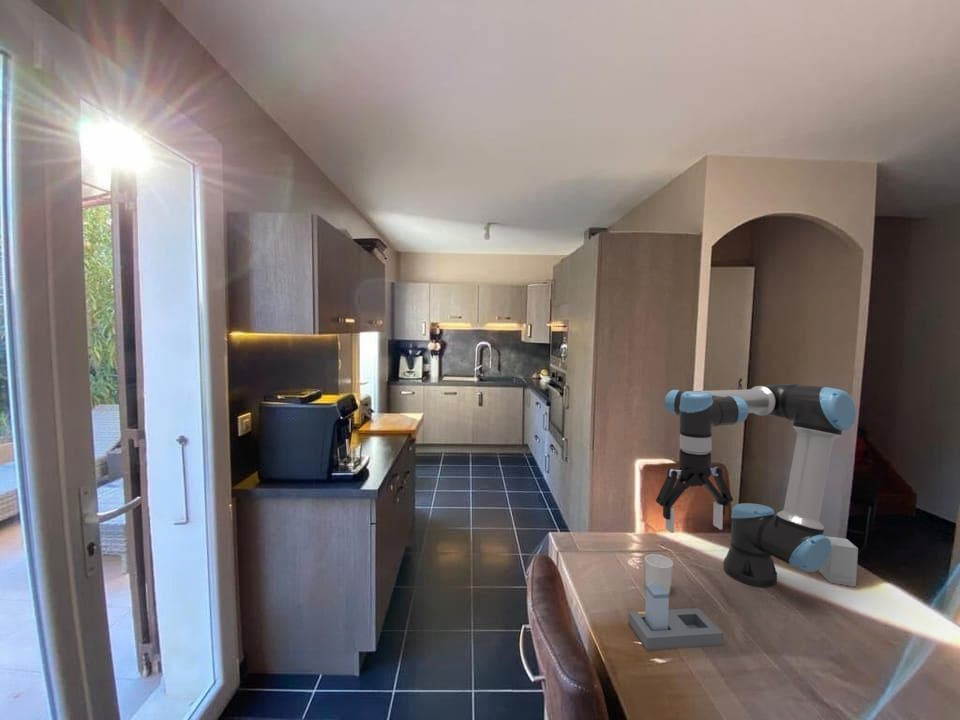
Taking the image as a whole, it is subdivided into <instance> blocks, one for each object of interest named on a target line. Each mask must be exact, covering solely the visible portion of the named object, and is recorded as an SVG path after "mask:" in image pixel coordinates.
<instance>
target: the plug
mask: <svg viewBox="0 0 960 720" xmlns="http://www.w3.org/2000/svg"><path fill="white" fill-rule="evenodd" d="M669 601H670V593H668V592H667V591H666V590H665V589H664V588H663V587H662V586H661V585H649V586H646V585H645V610H644V611H645V623H646V624H647V626H648V627H649V628H650V630H651V631H661V630H668V610H670V609H669V607H670V605H669V604H670V603H669Z"/></svg>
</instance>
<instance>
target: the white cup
mask: <svg viewBox="0 0 960 720" xmlns="http://www.w3.org/2000/svg"><path fill="white" fill-rule="evenodd" d="M673 567H674V563H673V561H672V559H670V558H668V557H667V556H664V555H662V554H661V555H660V554H656V553H655V554H653V553H651V554H648V555H646V556H645V558H644V569H645V571H644V576H645V577H644V578H645V587H646V586H649V585H661V586H662V587H663V588H664V589H665V590H666V591H667V592H668V593H669V594H671V586H672V579H673Z"/></svg>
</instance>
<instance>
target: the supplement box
mask: <svg viewBox="0 0 960 720" xmlns="http://www.w3.org/2000/svg"><path fill="white" fill-rule="evenodd" d="M825 536H826V537H827V538H828V539H829V540H830V542H831V546H832V549H831V554H830V556H829V558H828V560H827V562H826V563H825V564H824V565H823V566H822V567H821V568H820V569H819V570H818V571H819V573H820V574H821V575H822V576H823V577H824V579H825V580H826V581H827V582H828V583H831V584H834V583H835V584H836V585H840V584H843V585H842V586H846V585H850V586H849V587H853V586H857V574H858V573H857V572H858V556H859V548H858V547H857V546H856V545H855V544H854V543H852V542H851V541H850V540H849V539H847V538H843V537H834V536H827V535H825Z"/></svg>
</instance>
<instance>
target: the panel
mask: <svg viewBox="0 0 960 720" xmlns="http://www.w3.org/2000/svg"><path fill="white" fill-rule="evenodd" d="M628 624H629V625H630V627H631V628H632V630H633V632H634V633H635V635H637V638H638V639H639V640H640V642H641V643H642V645H643V647H644V648H645V649H646V650H647V651H650V650H652V651H653V650H666V649H680V648H681V649H682V648H691V647H692V648H696V647H697V648H699V647H713V646H722V645H723V642H724V641H723V640H724V639H723V638H724V633H723V631H721V629H720V628H719V627H718V626H717V625H716V624H715V623H714V622H712V620H710V618H709V617H708V615H706V614H705V613H704V612H703V610H701V609H700V608H699V607H693V608H674V609H673V608H672V609H668V630H661V631H651V630H650V628H649V627H648V626H647V624H646V623H645V610H643V611H641V610H640V611H639V610H638V611H629V612H628Z"/></svg>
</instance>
